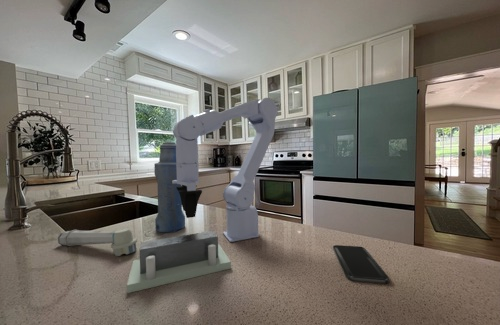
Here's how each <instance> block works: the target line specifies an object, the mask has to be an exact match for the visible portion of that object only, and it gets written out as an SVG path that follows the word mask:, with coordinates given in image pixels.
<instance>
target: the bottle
mask: <svg viewBox="0 0 500 325" xmlns="http://www.w3.org/2000/svg"><path fill="white" fill-rule="evenodd" d="M159 150H160V151H159V161H158V162H155V163H153V164H154V167H153V168H154V172H153V174H154V177H155V179H156V183H157V214H156V216H155V220H154V223H155V231H157V232H159V233H174V232H177V231H181V230H182V229H183V228H185V227H186V214H185V212H184V210H183V207H182V203H181V198H180V194H179V192H178V190H177V188H176V186H182V185H180V184H173V183H172V181H173V180H177V167H176V142H173V141H172V142H170V141H169V142H167V141H166V142H164V141H163V142H162V144H160V145H159Z"/></svg>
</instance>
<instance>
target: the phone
mask: <svg viewBox="0 0 500 325" xmlns="http://www.w3.org/2000/svg"><path fill="white" fill-rule="evenodd" d="M332 250H333V252H334V254H335V257H336V259H337V262H338V263H339V265H340V267H341V269H342V272H343V273H344V276H345V278H346V279H347V280H348V281H351V282H353V283H354V282H357V283H366V284H367V283H369V284H375V285H376V284H379V285H389V284H390V277H389V276H388V274H387V273H386V272H385V271H384V270H383V268H382V267H381V266H380V264H378V263H377V261H376V260H375V259H374V257H373V256H372V255H371V254H370V252H369V250H367V249H366V248H365V247H363V246H358V245H357V246H355V245H340V244H335V245H333V246H332Z"/></svg>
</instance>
